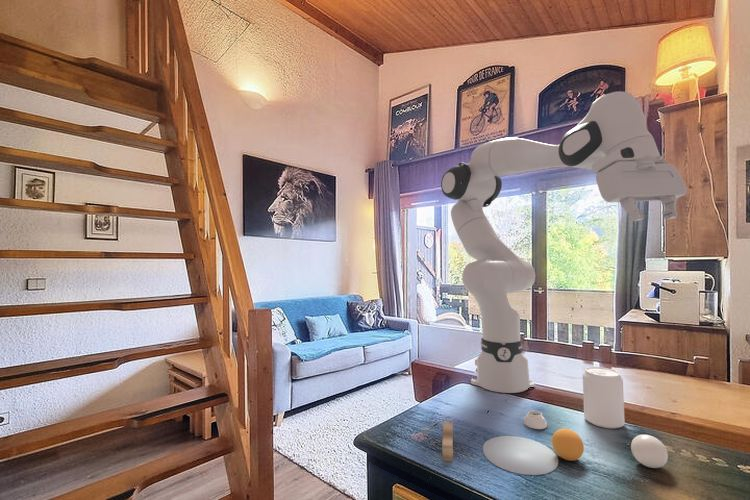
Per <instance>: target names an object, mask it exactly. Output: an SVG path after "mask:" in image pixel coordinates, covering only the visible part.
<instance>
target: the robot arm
mask: <svg viewBox="0 0 750 500" xmlns="http://www.w3.org/2000/svg"><path fill="white" fill-rule="evenodd" d="M470 155H471V156H470V161H468V163H465V162H464V161H462V162H459V163H458V164H456V165H455V166H453V167H451V168H449V169H448V170H446V171H445V172H444V174H443V175H442V179H441V182H440V188H441V193H442V194H443V195H444V196H445V197H446V198H448V199H451V200H454V201H455V200H458V201H457V202H456V203H454V205H453V206H452V208H451V210H450V216H451V220H452V223H453V227H454V230H455V232H456V233H457V236H458V238H459V239H460V242H461V244H462V246H463V248H464V250H465V252H466V253H467V255H468V256H469V257H471V258H472V259H474V260H476V261H472V262H470V263H467V265H465V267H463V271H462V275H461V277H462V278H461V280H462V284H463V286H464V289H465V290H466V291H467V292H468V293H470V294H471V295H472V296H473V297H474V299H475V301H476V303H477V305H478V307H479V311H480V315H481V329H482V331H481V332H482V334H481V335H482V337H481V341H480V350H481V352H480V353H479V354H478V356H477V358H476V357H475V359H474V365H475V366H477V367H476V368H475V370H474V373H477V379H473V378H472V377H471V379H470V384H471V385H474V386H477V387H480V388H482V389H485V390H488V391H491V392H494V393H495V392H496V393H504V394H517V393H522V392H525V391H527V390H529V389H530V388H529V387H532V386H535V387H536V383H535V382H534V381H533V380H531V379H530V374H529V373H530V372H529V371H530V370H529V362H528V358H526V357H525V355H524V354H523V341H522V339H521V322H520V321H521V320H520V315H519V313H518V311H517V310H516V309H514V308H512V305H511V304H510V302H509V299H508V294H517V293H522V292H523V291H526V290H528V289H530V288H531V287H533V285H534V283H535V281H536V272H535V271H536V270H535V269H534V267H533V265H532V264H531V263H530V262H529V261H526V260H524V259H523V258H522V257H520V256H518V255H516V253H514V251H512V249H511V248H510V247H508V246H507V245H506V244H505V242H503V241H502V240H501V239H500V236H499V235H498V234H497V232H496V230H494V228H493V226H492V225H491V223H490V221H489V220H488V218H487V215H486V214H485V213H484V210H483V208H486V207H489V206H490V205H491V204H492V202H493V201H494V200H495V199H497V198H498V196H499V195H500V192H501V190H502V187H503V186H502V184H503V182H502V178H501V176H510V175H518V174H523V173H528V172H533V171H540V170H545V169H558V168H561V169H562V168H576V169H583V170H589V171H592V172H593V173H594V174H596V175H595V182H596V184H597V187H598V191H599V193H600V196H601V198H602V199H603V200H604V201H605V202H606V203H620V206H621V208H622V209H623V210H624V211H625V212H626V213H627V214H628V216H629V218H630V220H631V222H638V221H641V220H643V219H645V214H644V212H643V210H642V209H639V208H638V207H637V205H636V204H635V203H636V202H658V201H660V202H661V204H662V205H663V206H664V211H662V212H661V213H662V216H663V218H664V219H665V220H673V219H675V218H677V217H678V216H679V215H678V212H677V204H678V203H677V202H678V201H677V199H679V198H681V197H684V196H685V195H687V193H688V188H687V185H686V183H685V181H684V179H683V177H682V176H681V174H680V172H679V170H678V168H677V167H676V166H675V165H673V164H672V163H669V162H667V161H666V160H665V159H661V154H660V151H659V149H658V147H657V144H656V141H655V139H654V136H653V135H652V134H651V132H650V131H649V130H648V125H647V118H646V116H645V114H644V111H643V109H642V107H641V105H640V103H639V101H638V99H637V98H636V97H635V95H633V94H632V93H631V92H628V91H620V90H618V91H613V92H607V93H606V94H602V95H601V96H600V97H598V98H597V99H595V101H593V102H592V104H591V105H590V108H589V110H588V112H587V114H586V115H585V116H584V118H583V119H582V120H581V121H580V122H579V123H577V125H576V126H575V127H573V128H572V129H570V130H569V131H567V132H566V133H565V134H564V135H563V136H562V138H561V140H560V142H559V144H548V143H543V142H540V141H534V140H531V139H526V138H519V137H504V138H498V139H494V140H490V141H488V142H485V143H482V144H480V145H478V146H477V147H476V148H474V150H473V151H472V152H471V154H470ZM528 388H529V389H528Z"/></svg>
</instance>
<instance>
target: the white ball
mask: <svg viewBox="0 0 750 500" xmlns="http://www.w3.org/2000/svg"><path fill="white" fill-rule="evenodd" d="M630 449H631V453H632V455H633V457H634V458H635V460H637V462H639V464H641V465H642V466H644V467H647V468H652V469H659V468H662V467H664V466H665V465H666V464H667V462H668V459H669V454H668V450H667V448H666V446H665V445H664V443H663V442H662V441H661V440H660V439H658V438H657V437H655V436H652V435H649V434H638V435H636V436H635V437H634V438H632V441H631V444H630Z"/></svg>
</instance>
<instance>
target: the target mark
mask: <svg viewBox="0 0 750 500" xmlns="http://www.w3.org/2000/svg"><path fill="white" fill-rule="evenodd" d="M482 452H483V455H484V457H485V458H486V459H487V460H488V461H489V463H491V464H493V465H494V466H495V467H498V468H500V469H503V470H504V471H508V472H510V473H514V474H517V475H526V476H540V475H546V474H549V473H551V472H553V471H554V470H556V469H557V468H558V466H559V458H558V456H557V453H556V452H555V451H553V450H552V449H551V448H549V447H548V446H546V445H544V444H543V443H541V442H539V441H537V440H533V439H531V438H528V437H527V438H526V437H521V436H514V435H513V436H512V435H500V436H495V437H493V438H492V437H491V438H490V439H488V440H487V441H485V442H484V444H483V445H482Z"/></svg>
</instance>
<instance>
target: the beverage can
mask: <svg viewBox="0 0 750 500" xmlns="http://www.w3.org/2000/svg"><path fill="white" fill-rule="evenodd" d="M582 391H583V392H582V394H583V396H582V397H583V417H584V420H586V421H587V422H589V423H591V424H592V425H594V426H597V427H600V428H604V429H619V428H622V427H623V426H625V403H624V402H625V398H624V379H623V377H622V376H621V372H619V371H617V370H615V369H612V368H607V367H601V366H588V367H586V368H584V372H583V373H582Z"/></svg>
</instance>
